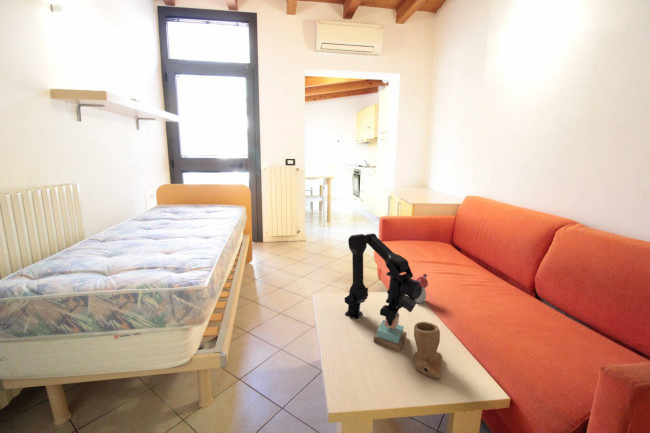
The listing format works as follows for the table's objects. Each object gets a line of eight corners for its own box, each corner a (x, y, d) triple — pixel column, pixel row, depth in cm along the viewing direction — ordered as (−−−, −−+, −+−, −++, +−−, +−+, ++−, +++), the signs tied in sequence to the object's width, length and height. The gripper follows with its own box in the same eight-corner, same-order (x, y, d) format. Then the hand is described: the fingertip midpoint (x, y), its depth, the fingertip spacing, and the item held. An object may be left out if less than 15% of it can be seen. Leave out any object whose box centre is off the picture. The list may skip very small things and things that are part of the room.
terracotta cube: (387, 320, 131) (389, 311, 130) (398, 324, 128) (399, 314, 127) (384, 325, 127) (385, 316, 126) (395, 329, 125) (396, 319, 124)
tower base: (381, 330, 137) (382, 324, 136) (405, 338, 132) (406, 332, 131) (373, 342, 127) (374, 336, 126) (399, 352, 122) (400, 346, 121)
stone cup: (413, 347, 125) (417, 314, 122) (443, 357, 120) (449, 323, 117) (405, 370, 112) (410, 333, 108) (439, 382, 107) (445, 345, 103)
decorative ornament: (421, 296, 169) (425, 271, 166) (429, 302, 164) (433, 276, 160) (407, 299, 166) (411, 273, 163) (415, 305, 160) (419, 278, 157)
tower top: (382, 326, 134) (383, 319, 134) (402, 332, 131) (403, 326, 130) (376, 336, 126) (377, 330, 126) (398, 343, 123) (398, 337, 122)
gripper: (410, 303, 112) (405, 340, 116) (420, 285, 128) (415, 318, 132) (381, 295, 117) (377, 331, 121) (394, 278, 133) (390, 310, 137)
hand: (391, 322), depth 127 cm, fingers closed on terracotta cube, 4 cm apart
